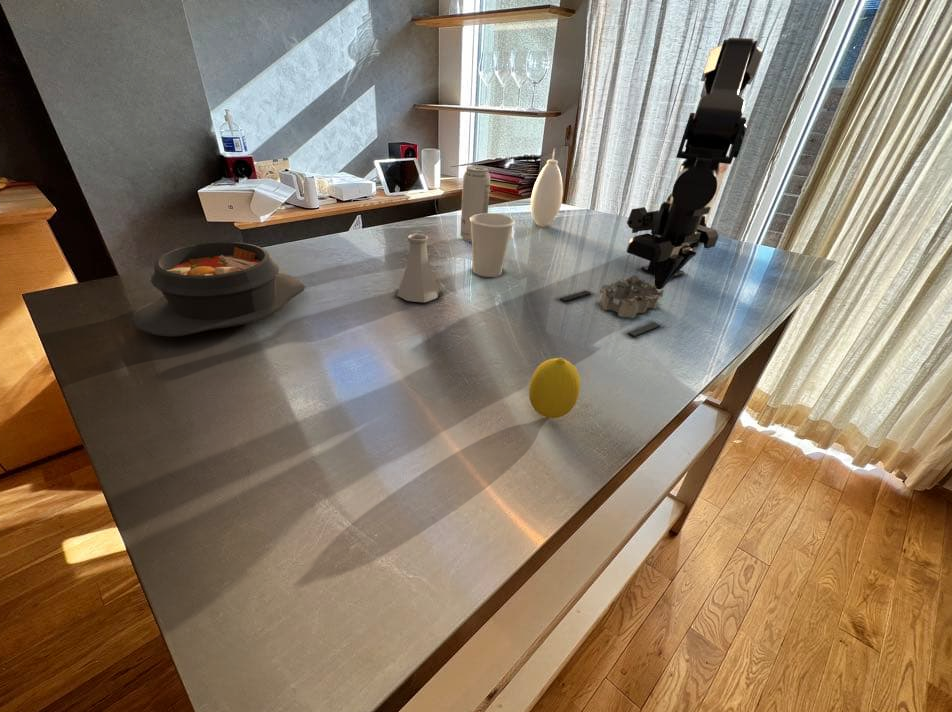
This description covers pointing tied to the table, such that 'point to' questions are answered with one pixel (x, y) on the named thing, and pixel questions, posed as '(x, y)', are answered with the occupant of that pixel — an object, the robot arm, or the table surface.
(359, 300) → the table surface
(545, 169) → the air blower bulb
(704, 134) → the robot arm
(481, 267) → the dixie cup
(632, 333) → the bay strips
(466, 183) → the energy drink can
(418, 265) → the flask
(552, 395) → the lemon
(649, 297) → the tan rough lump
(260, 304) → the casserole
